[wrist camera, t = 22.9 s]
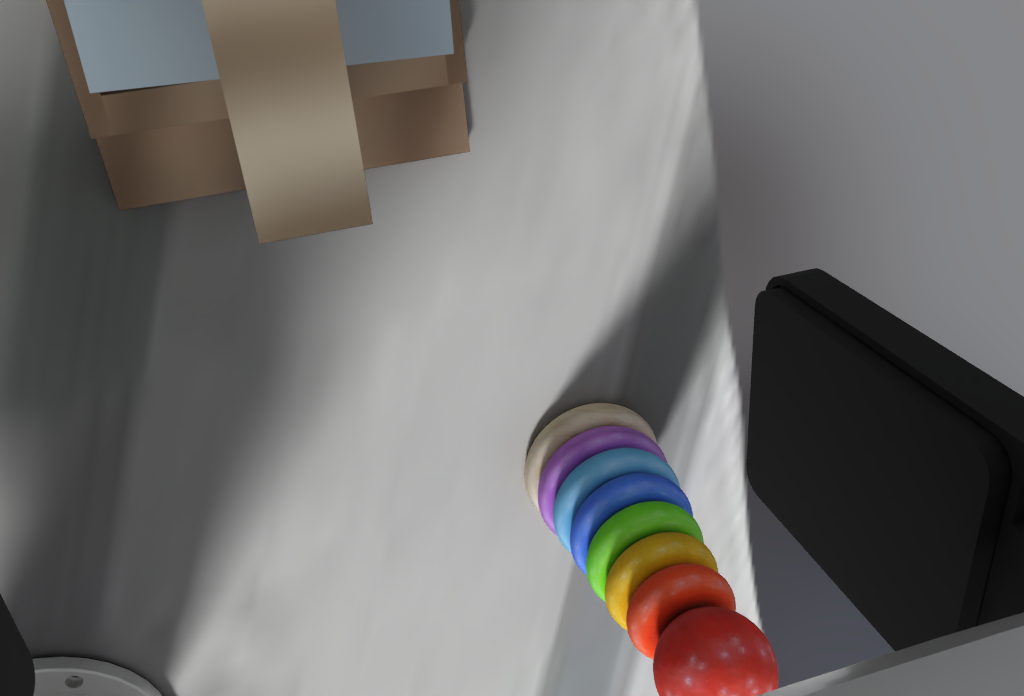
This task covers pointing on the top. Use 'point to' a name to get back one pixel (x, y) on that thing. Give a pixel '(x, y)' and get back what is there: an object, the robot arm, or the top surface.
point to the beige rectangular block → (290, 114)
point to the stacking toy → (645, 552)
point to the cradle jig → (209, 137)
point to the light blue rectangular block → (188, 49)
